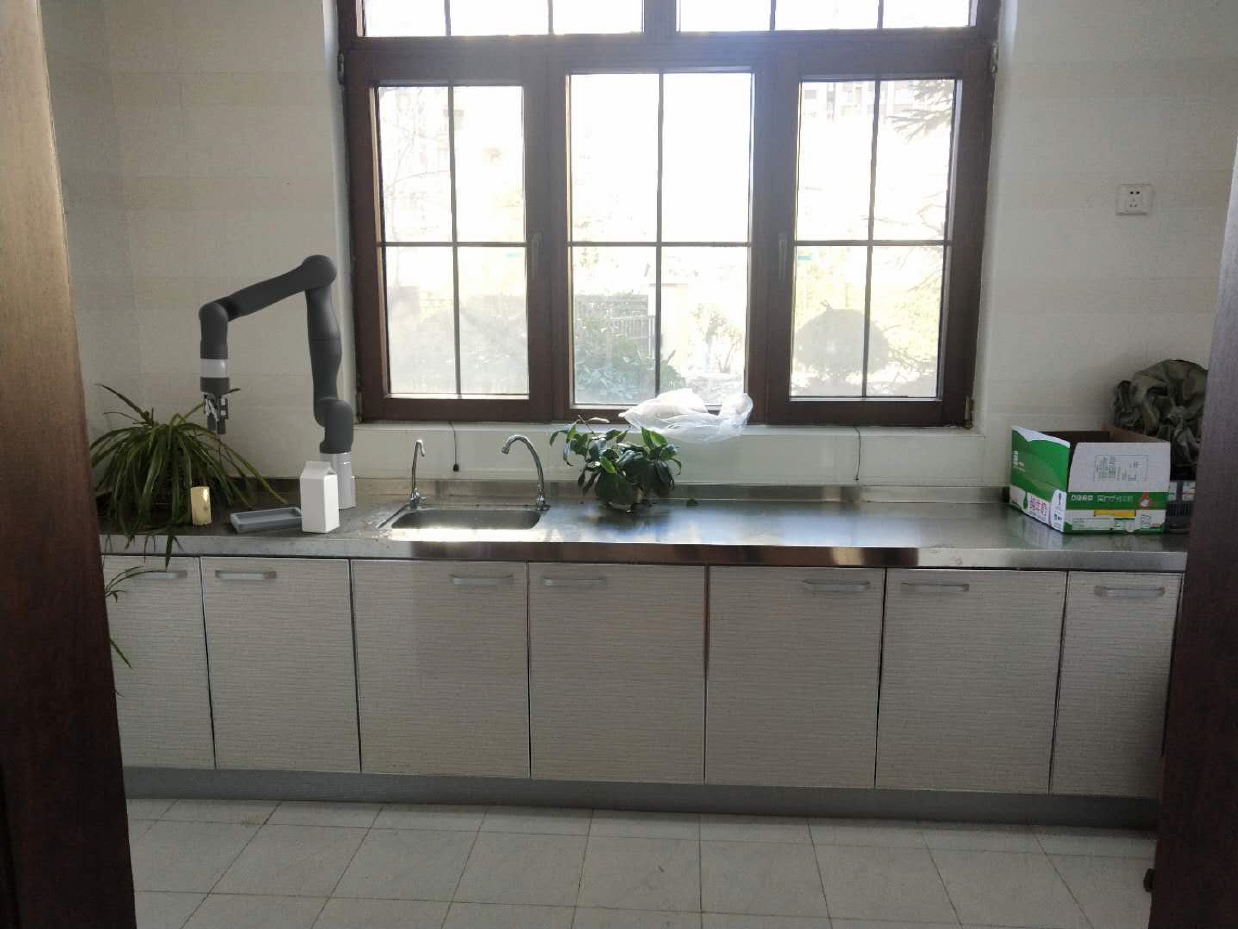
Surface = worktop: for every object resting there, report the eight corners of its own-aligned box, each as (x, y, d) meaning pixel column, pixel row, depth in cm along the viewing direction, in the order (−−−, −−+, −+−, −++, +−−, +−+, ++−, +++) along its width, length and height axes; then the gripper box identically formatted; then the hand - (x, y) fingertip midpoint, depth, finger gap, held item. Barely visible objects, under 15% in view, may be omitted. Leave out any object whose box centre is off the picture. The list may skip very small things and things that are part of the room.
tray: (297, 515, 249) (296, 506, 249) (308, 525, 237) (308, 516, 237) (230, 522, 239) (230, 513, 239) (239, 533, 228) (238, 524, 227)
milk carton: (325, 533, 229) (322, 464, 226) (302, 531, 231) (298, 463, 227) (339, 527, 236) (336, 460, 233) (316, 525, 238) (313, 459, 234)
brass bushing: (210, 520, 241) (207, 486, 240) (212, 523, 238) (209, 488, 236) (192, 522, 239) (189, 487, 237) (194, 525, 235) (191, 490, 233)
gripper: (237, 377, 234) (238, 435, 237) (220, 373, 244) (222, 428, 247) (208, 377, 229) (209, 436, 232) (192, 373, 239) (194, 430, 242)
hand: (216, 432), depth 239 cm, fingers open, 8 cm apart
